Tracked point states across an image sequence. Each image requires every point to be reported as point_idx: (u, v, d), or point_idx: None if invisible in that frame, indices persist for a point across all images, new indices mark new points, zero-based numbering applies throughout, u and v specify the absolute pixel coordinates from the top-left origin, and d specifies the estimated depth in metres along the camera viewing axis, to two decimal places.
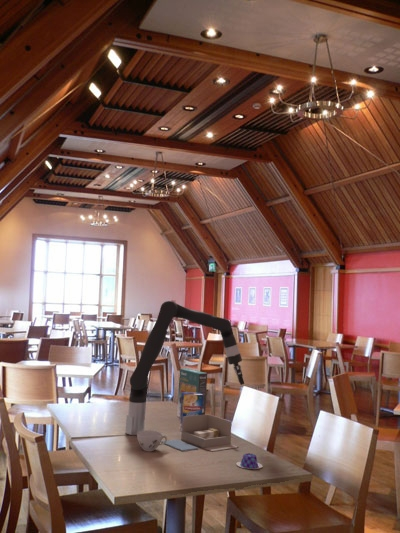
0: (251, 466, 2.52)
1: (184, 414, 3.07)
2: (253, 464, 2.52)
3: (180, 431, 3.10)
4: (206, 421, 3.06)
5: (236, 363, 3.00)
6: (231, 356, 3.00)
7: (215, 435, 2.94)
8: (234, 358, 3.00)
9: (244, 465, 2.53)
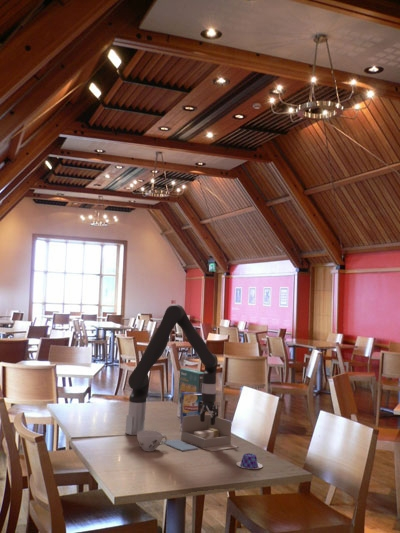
0: (251, 466, 2.52)
1: (184, 414, 3.07)
2: (253, 464, 2.52)
3: (180, 431, 3.10)
4: (206, 421, 3.06)
5: (213, 402, 2.92)
6: (210, 394, 2.92)
7: (215, 435, 2.94)
8: (212, 397, 2.92)
9: (244, 465, 2.53)
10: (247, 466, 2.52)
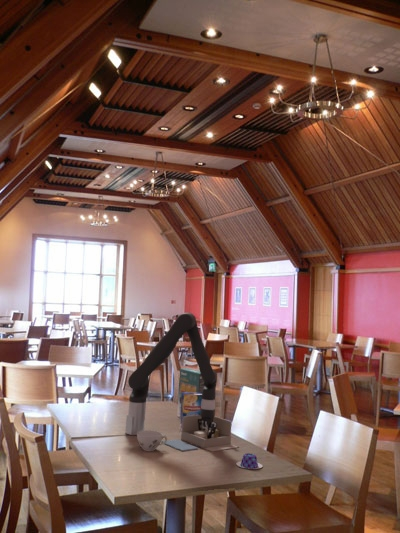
0: (252, 466, 2.52)
1: (184, 414, 3.07)
2: (254, 464, 2.52)
3: (180, 431, 3.10)
4: None
5: (212, 418, 2.91)
6: (210, 410, 2.91)
7: (215, 435, 2.94)
8: (212, 412, 2.92)
9: (245, 465, 2.52)
10: (247, 466, 2.52)
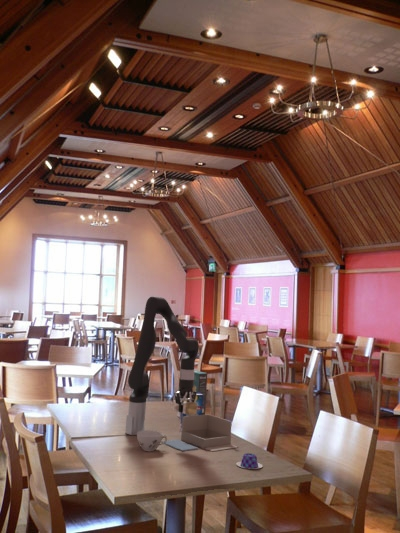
0: (252, 466, 2.52)
1: (184, 414, 3.07)
2: (254, 464, 2.53)
3: (180, 431, 3.10)
4: (206, 421, 3.06)
5: (180, 388, 2.83)
6: (179, 379, 2.84)
7: (186, 407, 2.80)
8: (180, 382, 2.83)
9: (245, 465, 2.52)
10: (248, 466, 2.52)
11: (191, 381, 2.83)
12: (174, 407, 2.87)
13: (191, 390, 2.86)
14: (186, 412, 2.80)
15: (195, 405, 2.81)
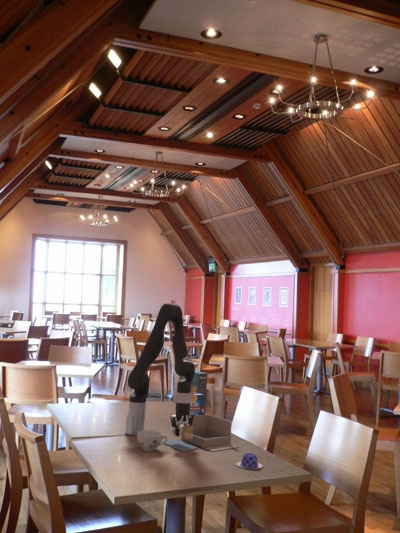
0: (253, 466, 2.52)
1: None
2: (255, 464, 2.53)
3: None
4: (206, 421, 3.06)
5: (176, 411, 2.81)
6: (176, 402, 2.83)
7: (182, 431, 2.78)
8: (177, 405, 2.82)
9: (246, 465, 2.52)
10: (249, 466, 2.52)
11: (187, 404, 2.81)
12: (171, 430, 2.86)
13: (188, 413, 2.85)
14: (182, 436, 2.78)
15: (191, 429, 2.79)
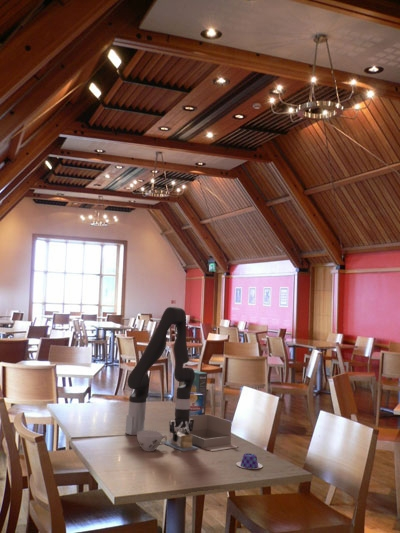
0: (253, 466, 2.52)
1: None
2: (255, 464, 2.53)
3: (180, 431, 3.10)
4: (206, 421, 3.06)
5: (176, 417, 2.81)
6: (175, 408, 2.83)
7: (181, 440, 2.78)
8: (176, 411, 2.81)
9: (246, 466, 2.52)
10: (249, 466, 2.52)
11: (186, 411, 2.81)
12: (170, 439, 2.86)
13: (187, 419, 2.84)
14: (181, 445, 2.78)
15: (190, 438, 2.79)
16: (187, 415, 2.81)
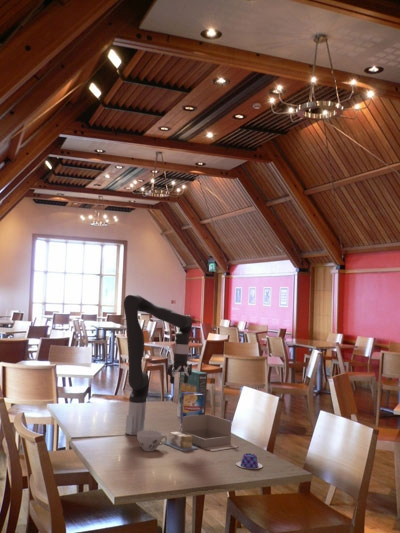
0: (254, 466, 2.52)
1: (184, 414, 3.07)
2: (255, 464, 2.53)
3: (180, 431, 3.10)
4: (206, 421, 3.06)
5: (174, 361, 2.94)
6: (174, 353, 2.95)
7: (181, 440, 2.78)
8: (175, 356, 2.94)
9: (247, 466, 2.52)
10: (250, 466, 2.52)
11: (185, 355, 2.93)
12: (170, 439, 2.86)
13: (185, 364, 2.97)
14: (181, 445, 2.78)
15: (190, 438, 2.79)
16: (185, 360, 2.94)
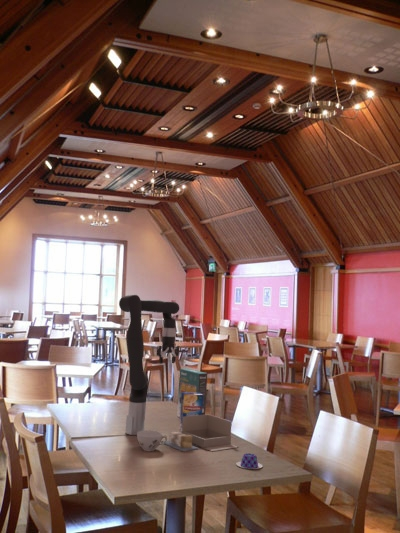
0: (254, 466, 2.52)
1: (184, 414, 3.07)
2: (256, 463, 2.53)
3: (180, 431, 3.10)
4: (206, 421, 3.06)
5: (163, 343, 3.27)
6: (162, 336, 3.29)
7: (181, 440, 2.78)
8: (163, 338, 3.27)
9: (248, 466, 2.52)
10: (251, 466, 2.52)
11: (172, 338, 3.27)
12: (170, 439, 2.86)
13: (173, 346, 3.30)
14: (181, 445, 2.78)
15: (190, 438, 2.79)
16: (172, 342, 3.27)
